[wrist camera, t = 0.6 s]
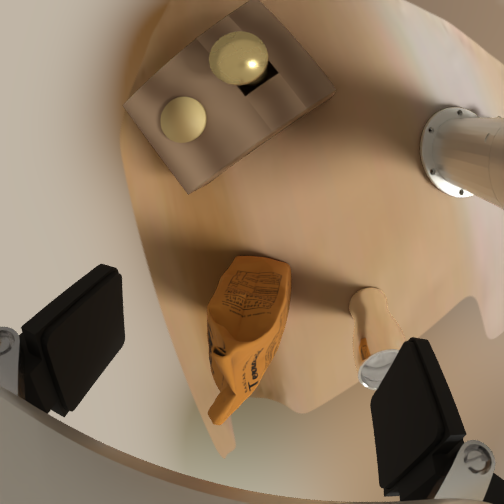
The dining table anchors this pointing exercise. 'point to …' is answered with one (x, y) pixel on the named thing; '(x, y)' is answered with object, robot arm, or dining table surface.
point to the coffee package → (245, 328)
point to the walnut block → (225, 99)
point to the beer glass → (373, 336)
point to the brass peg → (239, 59)
